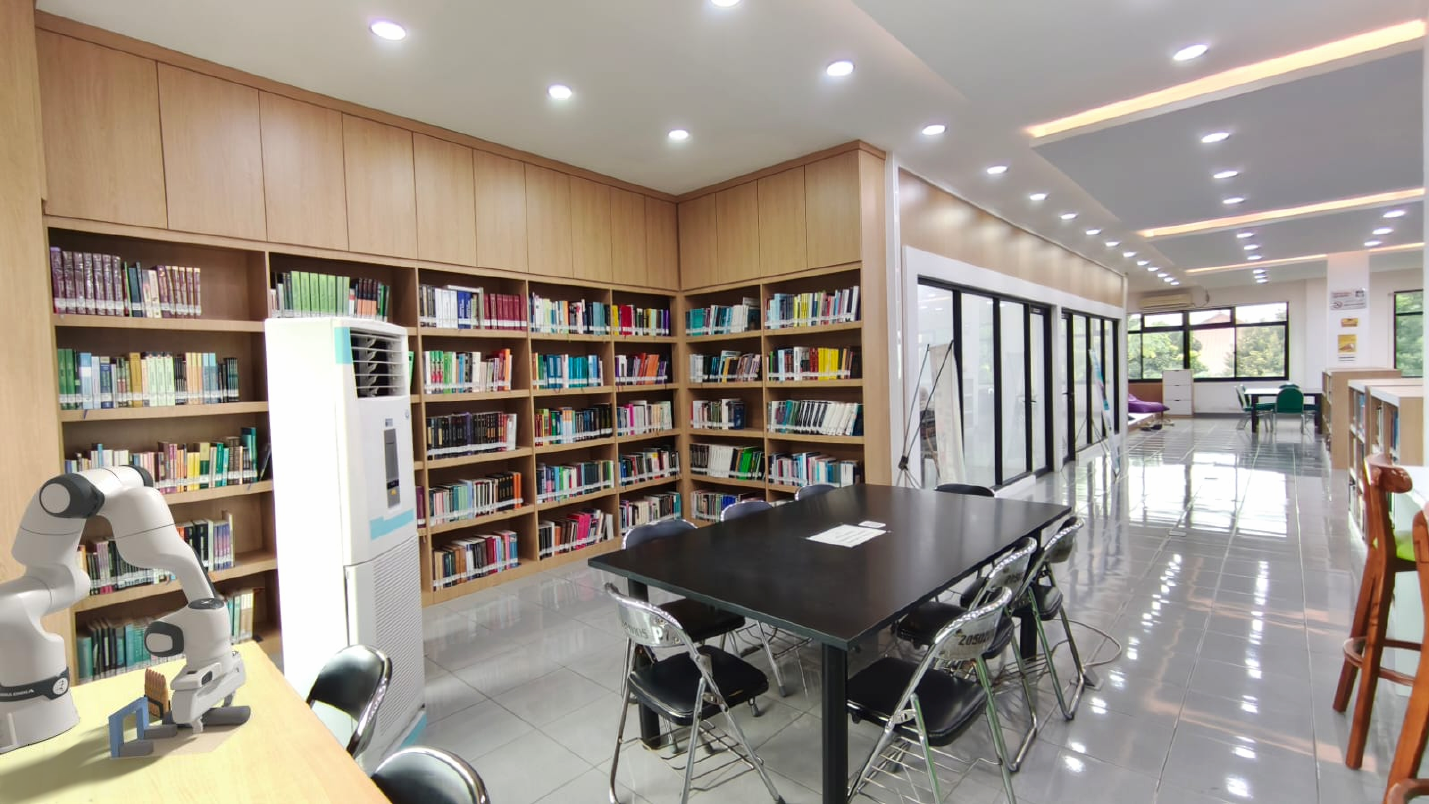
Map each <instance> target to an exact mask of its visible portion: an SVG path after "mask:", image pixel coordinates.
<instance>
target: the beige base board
mask: <svg viewBox="0 0 1429 804" xmlns="http://www.w3.org/2000/svg"><path fill="white" fill-rule="evenodd" d="M258 715H259V712H258V713H257V712H255V713H251V714H250V717H249V719H248V721H247V722H246V723H243V724H227V725H211V726H205V727H206V729H205V730H204V731H203V732H201V733H198V734H195V733H194V732H193V727H179V728H177V724H167V725H162V722H161V723H160V724H156V725H155V724H154V725H149V727H148V728H146V729H145V740H137V739H136V740H135V741H131V742H129V741H128V742H124V744H122V745H121V746H119V753H120V757H119V758H111V757H110V758H109V759H108V760H119V759H121V760H122V759H135V758H137V759H138V758H150V757H163V756H164V757H165V756H177V755H178V756H179V755H190V754H191V755H194V754H207V753H213V752H214V751H215V750H217V748H219V747H220V746H221V745H222V744H224V743H225V742H226V741H227V740H228V739H230V738H231V737H232V736H233V735H234V734H236V733H237V732H238V731H240V730H241V729H242V728H243V727H244V726H246V724H247V723H249V722H250V721H251V720H252V719H254V718H255V717H256V716H258Z"/></svg>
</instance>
